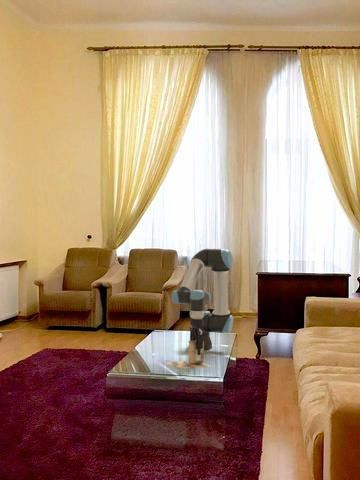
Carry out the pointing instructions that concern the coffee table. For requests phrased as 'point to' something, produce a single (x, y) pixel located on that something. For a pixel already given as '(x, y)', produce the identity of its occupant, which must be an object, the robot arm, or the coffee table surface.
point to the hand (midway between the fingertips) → (195, 359)
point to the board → (186, 365)
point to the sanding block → (194, 353)
